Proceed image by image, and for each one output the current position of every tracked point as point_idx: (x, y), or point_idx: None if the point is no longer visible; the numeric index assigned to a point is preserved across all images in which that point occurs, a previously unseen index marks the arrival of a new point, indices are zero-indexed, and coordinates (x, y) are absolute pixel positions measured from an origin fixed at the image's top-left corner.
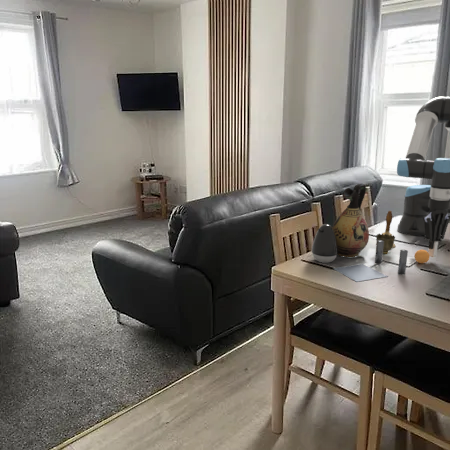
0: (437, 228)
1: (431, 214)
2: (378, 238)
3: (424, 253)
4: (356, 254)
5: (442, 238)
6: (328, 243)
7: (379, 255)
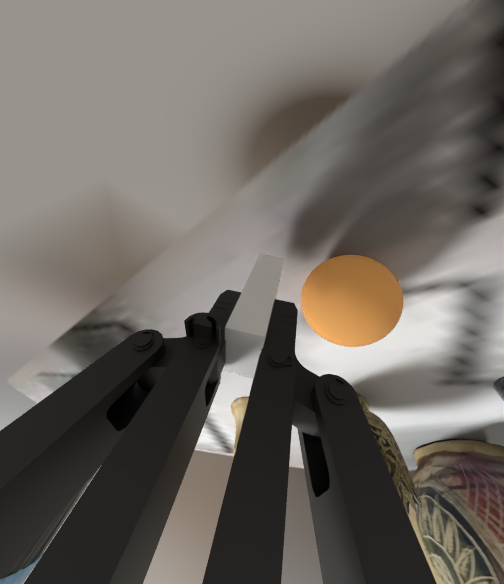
0: (138, 549)
1: None
2: (409, 499)
3: (385, 298)
4: (500, 454)
5: (151, 335)
6: None
7: None
